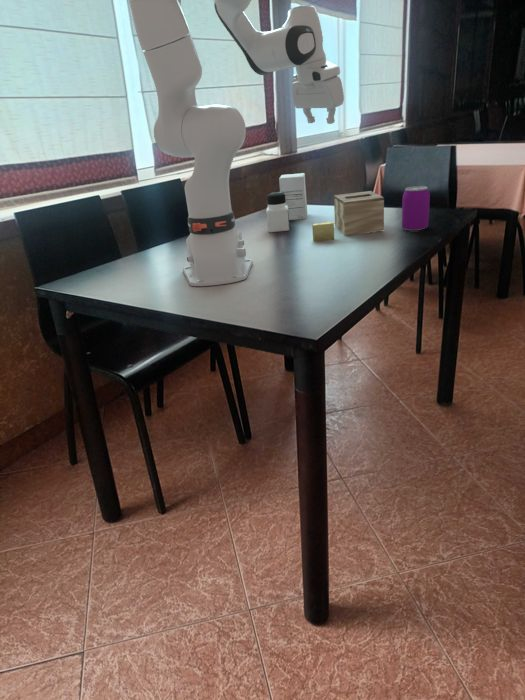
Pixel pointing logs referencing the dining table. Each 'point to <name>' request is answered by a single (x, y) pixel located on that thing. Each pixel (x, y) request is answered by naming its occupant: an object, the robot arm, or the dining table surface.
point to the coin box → (359, 213)
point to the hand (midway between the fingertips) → (321, 123)
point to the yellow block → (323, 231)
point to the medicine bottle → (277, 212)
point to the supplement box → (294, 195)
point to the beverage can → (415, 208)
